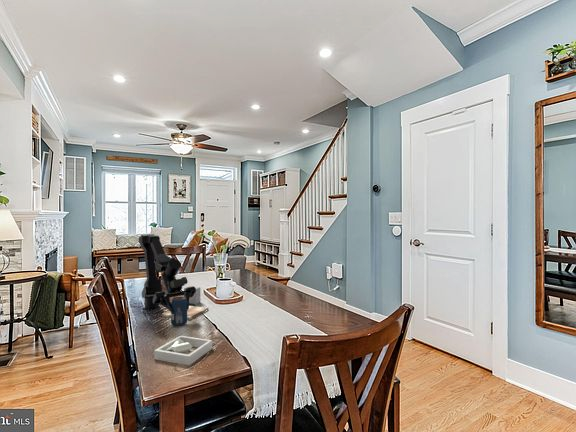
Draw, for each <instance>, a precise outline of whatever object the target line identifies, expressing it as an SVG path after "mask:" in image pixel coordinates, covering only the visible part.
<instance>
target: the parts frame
mask: <svg viewBox="0 0 576 432" xmlns="http://www.w3.org/2000/svg"><path fill="white" fill-rule="evenodd" d="M179 339H181V340H182V341H184V343H187V342H188V343H189V344H190V345H192V347H194V348H196V349H195V350H193V351H192V352H189V353H188V354H187V353H176V352H170V351H166V349H168V348H169V347H171V346H172V345H173V344H174V342H175V341H176V340H179ZM212 349H213V340H212V339H205V338H198V337H192V336H185V335H179V336H177V337H175V338H174V339H172V340H170V341H168V342H167V343H165V344H163V345H161V346H160V347H158V348H156V349H155V350H154V354H153V355H154V360H157V361H163V362H169V363H172V364H173V363H174V364H179V365H184V366H190V365H192V364H193V363H194V362H195V361H197V360H199V359H200V358H202V356H204V355H206V354H207V353H208V352H209V351H211V350H212Z"/></svg>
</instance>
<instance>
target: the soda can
mask: <svg viewBox="0 0 576 432" xmlns="http://www.w3.org/2000/svg"><path fill="white" fill-rule="evenodd" d="M170 302H171V305H172V308H173V311H174V312H173V313H172V312H171V318H170V324H171V326H172V327H175V328H181V327H184V326H186V324H187V323H188V320H187V300H186V297H183V296H177V297H172V299H171V301H170Z"/></svg>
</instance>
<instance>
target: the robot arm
mask: <svg viewBox="0 0 576 432" xmlns="http://www.w3.org/2000/svg"><path fill="white" fill-rule="evenodd" d="M160 238H161V237H160V235H155V234H154V233H153V234H151V233H150V234H149V233H146V234H141V235H140V236H139V237H138V243H139V246H140V248H141V250H142V251H143V252H144V261H145V272H146V279H145V281H144V284H143V289H142V291H141V293H140V294H141V298H142V299H144V307H143V308H142V310H145V311H146V310H147V311H155V310H156V309H159V308H161V306H162V307H164V308H166V309H167V311H170V312H172V313H173V312H174V311H173V308H172V305H171V302H172V301H171V300H170V299H171V298H174V297H186V300H187V310H188V309H189V306H190V304H189V298H191V297H193V296H194V294H195V292H196V288H195V287H196V286H190V287H188V286H186V287H187V288H186V287H185V288H186V289H185V291H184V290H183V287H184V286H185V285H187V284H188V278H187V276H183V277H181V278H177V277H176V276H177V275H178V273H179V271H180V269H181V267H182V262H181V261H179V260H178V259H176V258H175V257H170V256H168V255H167V254H166V252H165V250H164V247H163V245H162V243H161V239H160ZM157 272H158V273H162V274H161V275H160V277H161V278H159V277H158V276H157ZM162 281H163V285H164V288H163V285H162ZM163 289H164V290H165V291H166V292H165V291H164V290H163Z"/></svg>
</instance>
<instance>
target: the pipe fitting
mask: <svg viewBox="0 0 576 432" xmlns="http://www.w3.org/2000/svg"><path fill="white" fill-rule="evenodd" d="M191 349H192V345H190V344H189V343H188V342H187V343H184V341H182V340H181V339H179V340H176V341H175V342H174V344H173V345H172V346H171V347H169V348H168V349H166V351H170V352H176V353H182V354H187V353H188V352H189V353H190V351H191Z"/></svg>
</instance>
